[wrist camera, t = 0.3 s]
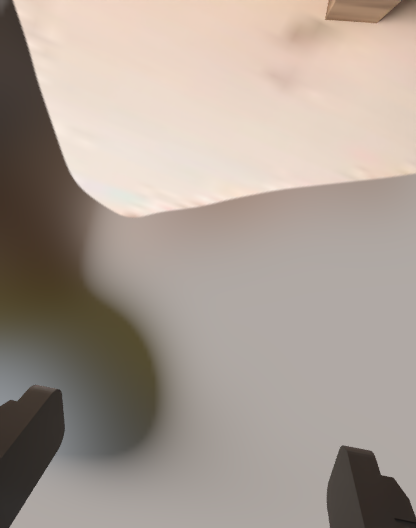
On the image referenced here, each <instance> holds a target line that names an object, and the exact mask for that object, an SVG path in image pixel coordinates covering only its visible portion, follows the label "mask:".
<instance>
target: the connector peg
mask: <svg viewBox="0 0 416 528" xmlns="http://www.w3.org/2000/svg"><path fill="white" fill-rule="evenodd" d="M400 1H402V0H329V2H328V7H327V13H326V18H325V20H339V21H354V22H369V23H377V22H378V21H379V20H381V19H382V18H383V17H384V16H385V15H386V14H387V13H388V12H389V11H391V10H392V9H393V8H394V7H395V6H396V5H397V4H398V3H399V2H400Z"/></svg>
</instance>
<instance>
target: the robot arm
mask: <svg viewBox="0 0 416 528" xmlns="http://www.w3.org/2000/svg"><path fill="white" fill-rule="evenodd" d="M64 431H65V424H64V413H63V401H62V393H61V391H60V390H59V389H55V388H49V387H44V386H39V385H33V386H32V387H30V388H29V389H28V390H27V391H26V392H25V393H24V395H23V396H22V397H21V398H20V399H19V400H18V401H13V400H10V401H8V402H7V403H5V404H3V405H2V406H0V528H9V527H10V525H11V524H12V522H13V521H14V519H15V517H16V516H17V514H18V513H19V511H20V510H21V508H22V506H23V505H24V503H25V501H26V500H27V498H28V497H29V495H30V494H31V492H32V491H33V488H34V487H35V486H36V484H37V483H38V481H39V479H40V478H41V476H42V475H43V473H44V471H45V470H46V468H47V467H48V465H49V463H50V462H51V460H52V458H53V457H54V456H55V454H56V452H57V451H58V449H59V447H60V445H61V442H62V439H63V436H64ZM327 510H328V516H329V523H330V528H416V517H415V514H414V511H413V509H412V506H411V503H410V500H409V498H408V497H407V496H406V494H405V493H404V492H403V490H402V489H401V488H400V486H399V485H398V484H397V482H396V481H395V479H394V478H392V477H387V476H382V475H381V474H380V471H379V467H378V464H377V461H376V458H375V455H374V453H373V452H372V451H369V450H364V449H359V448H353V447H348V446H341V447H340V449H339V452H338V455H337V458H336V461H335V464H334V467H333V470H332V473H331V476H330V479H329V483H328V488H327Z"/></svg>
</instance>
